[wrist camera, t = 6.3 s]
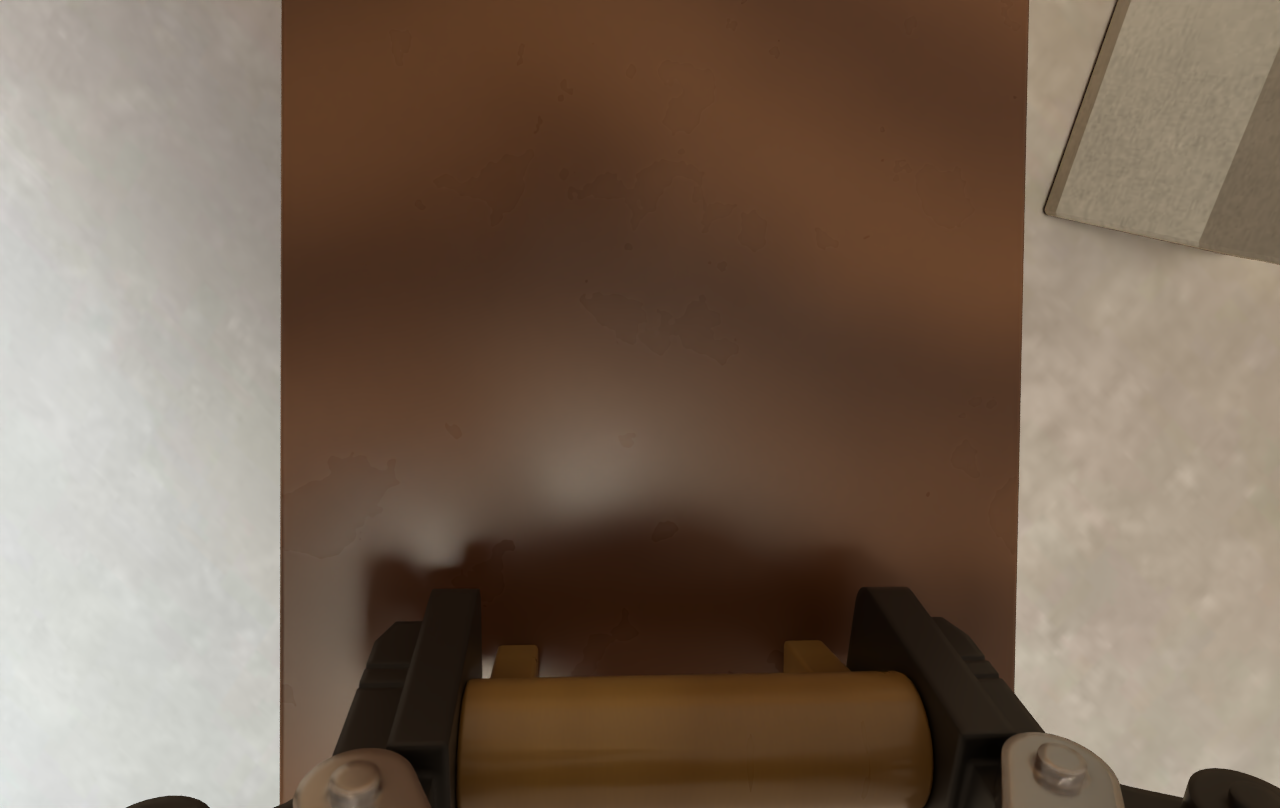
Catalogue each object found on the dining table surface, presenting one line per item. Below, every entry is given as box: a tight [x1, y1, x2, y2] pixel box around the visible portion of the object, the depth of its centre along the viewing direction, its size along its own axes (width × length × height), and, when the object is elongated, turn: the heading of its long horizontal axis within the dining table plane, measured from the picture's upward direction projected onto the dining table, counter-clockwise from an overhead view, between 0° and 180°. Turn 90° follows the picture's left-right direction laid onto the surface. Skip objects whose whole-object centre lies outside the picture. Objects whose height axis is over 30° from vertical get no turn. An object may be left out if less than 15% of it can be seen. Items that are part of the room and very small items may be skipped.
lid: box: [280, 0, 1029, 808], centre depth 13 cm, size 17×13×5 cm
